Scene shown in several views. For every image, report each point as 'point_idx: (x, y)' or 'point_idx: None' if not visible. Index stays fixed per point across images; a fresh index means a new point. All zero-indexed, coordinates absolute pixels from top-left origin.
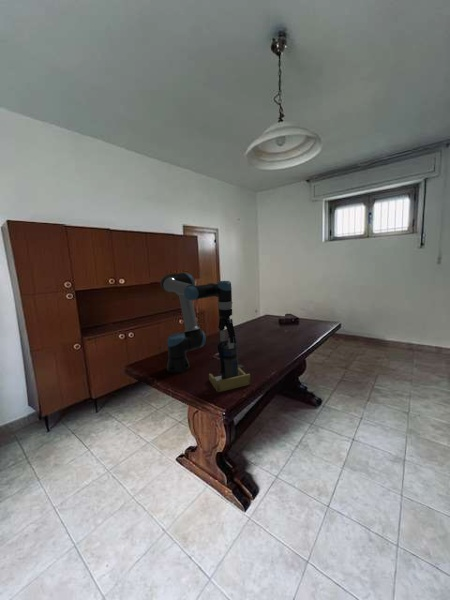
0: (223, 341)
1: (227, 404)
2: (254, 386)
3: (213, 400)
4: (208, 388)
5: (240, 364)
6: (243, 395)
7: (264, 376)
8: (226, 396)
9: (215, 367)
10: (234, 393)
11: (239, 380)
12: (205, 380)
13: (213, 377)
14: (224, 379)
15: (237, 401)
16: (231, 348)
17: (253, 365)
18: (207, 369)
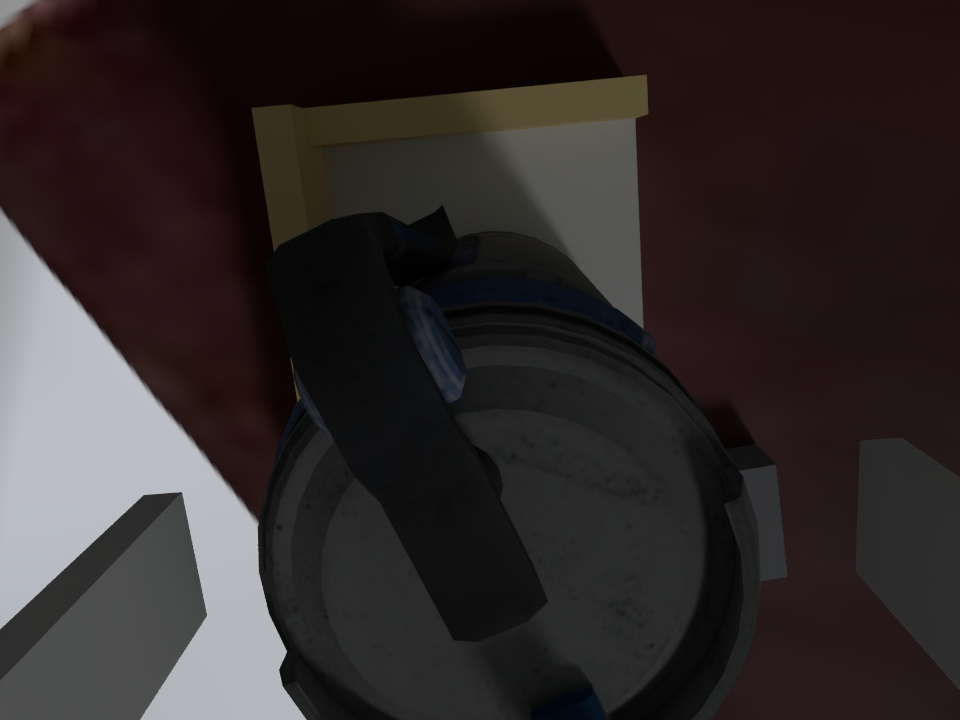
0: (725, 503)
1: (23, 158)
2: None
3: (135, 24)
4: (419, 26)
5: (784, 574)
6: (152, 372)
7: None
8: (179, 193)
9: (955, 257)
10: (216, 295)
11: None
12: (641, 32)
13: (510, 115)
14: (298, 228)
15: (56, 276)
16: (265, 562)
17: (769, 703)
18: (952, 132)
